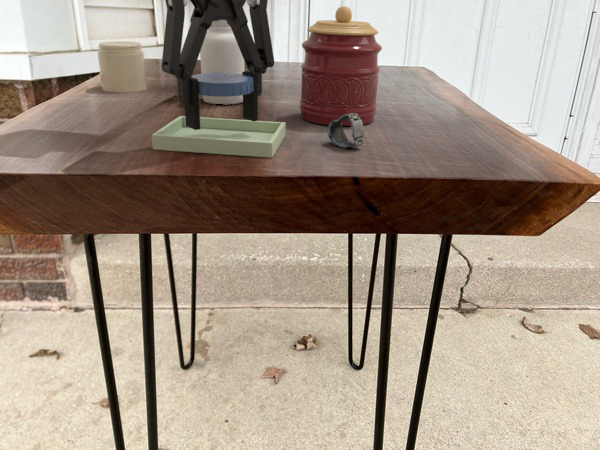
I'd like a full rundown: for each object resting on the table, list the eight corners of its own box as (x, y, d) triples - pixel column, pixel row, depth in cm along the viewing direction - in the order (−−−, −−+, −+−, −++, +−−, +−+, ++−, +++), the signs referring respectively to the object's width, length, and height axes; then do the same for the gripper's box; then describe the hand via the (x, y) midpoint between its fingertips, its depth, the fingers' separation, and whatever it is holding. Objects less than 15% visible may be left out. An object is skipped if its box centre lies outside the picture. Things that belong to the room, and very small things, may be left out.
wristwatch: (352, 153, 76) (336, 124, 77) (372, 137, 72) (354, 105, 72) (337, 159, 74) (320, 129, 75) (355, 142, 70) (338, 110, 71)
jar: (95, 102, 96) (88, 44, 91) (115, 93, 103) (109, 40, 99) (137, 104, 95) (132, 46, 91) (154, 96, 102) (150, 42, 98)
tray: (152, 149, 70) (151, 134, 69) (180, 128, 80) (179, 115, 80) (272, 157, 69) (272, 143, 68) (285, 135, 79) (285, 122, 78)
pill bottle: (194, 100, 100) (189, 14, 93) (228, 95, 105) (226, 14, 98) (218, 107, 94) (215, 18, 88) (253, 102, 99) (253, 17, 93)
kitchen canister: (384, 127, 85) (396, 9, 78) (305, 127, 83) (309, 7, 76) (364, 109, 97) (373, 5, 89) (294, 109, 95) (297, 3, 88)
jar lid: (259, 86, 75) (259, 74, 74) (245, 98, 67) (245, 84, 66) (200, 83, 76) (200, 71, 75) (180, 94, 68) (179, 81, 67)
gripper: (145, -71, 55) (162, 140, 65) (304, -57, 67) (299, 119, 77) (119, -67, 61) (138, 127, 70) (270, -55, 73) (270, 109, 82)
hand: (222, 123), depth 73 cm, fingers closed on jar lid, 8 cm apart
